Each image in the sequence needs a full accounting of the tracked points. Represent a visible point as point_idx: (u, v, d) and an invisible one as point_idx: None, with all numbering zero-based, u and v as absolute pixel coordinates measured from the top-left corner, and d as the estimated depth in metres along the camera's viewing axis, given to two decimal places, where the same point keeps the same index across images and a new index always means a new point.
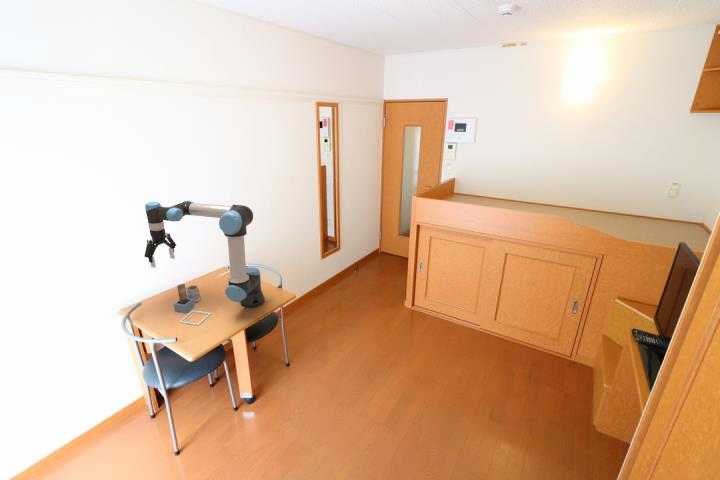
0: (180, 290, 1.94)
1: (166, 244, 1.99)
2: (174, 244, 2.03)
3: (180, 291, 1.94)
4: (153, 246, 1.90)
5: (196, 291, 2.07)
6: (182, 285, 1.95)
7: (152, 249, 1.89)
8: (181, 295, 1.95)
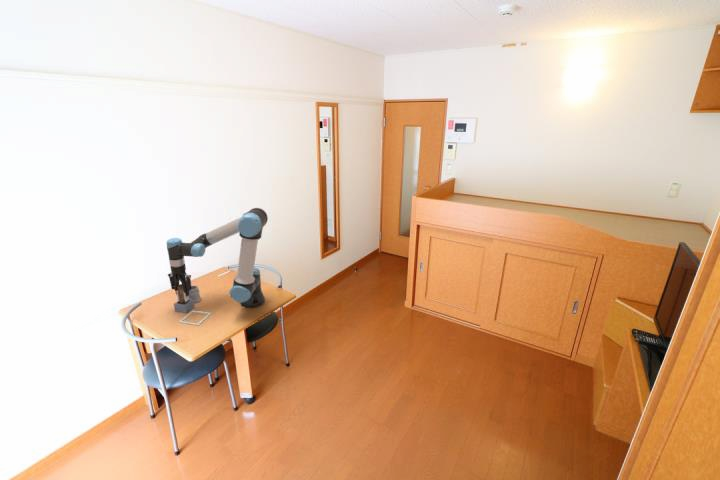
0: (180, 290, 1.94)
1: None
2: (187, 289, 1.93)
3: (180, 291, 1.94)
4: None
5: (196, 291, 2.07)
6: None
7: None
8: (181, 295, 1.95)
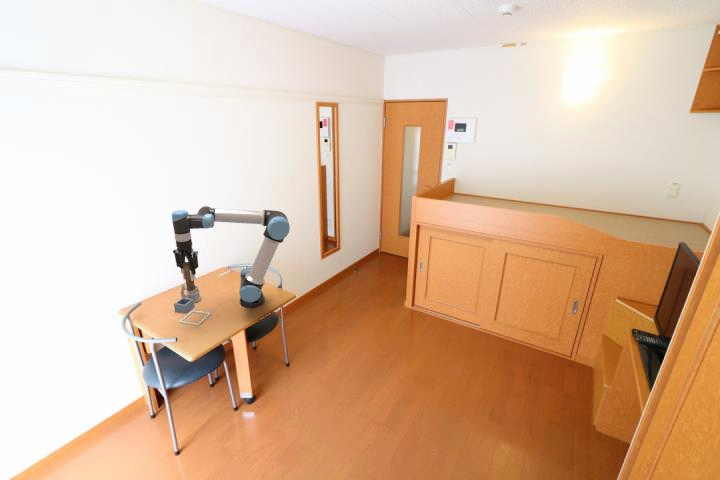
0: (186, 268, 1.79)
1: None
2: (193, 266, 1.78)
3: (186, 269, 1.79)
4: None
5: (196, 291, 2.07)
6: (188, 263, 1.80)
7: None
8: (187, 273, 1.80)
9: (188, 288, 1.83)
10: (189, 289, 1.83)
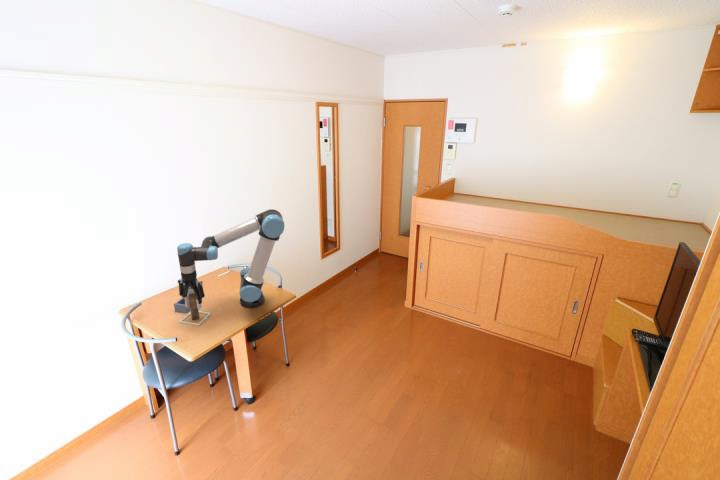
0: (191, 299, 1.86)
1: None
2: (200, 296, 1.85)
3: (191, 300, 1.86)
4: None
5: None
6: (193, 294, 1.87)
7: None
8: (192, 304, 1.87)
9: (193, 318, 1.90)
10: (194, 319, 1.90)
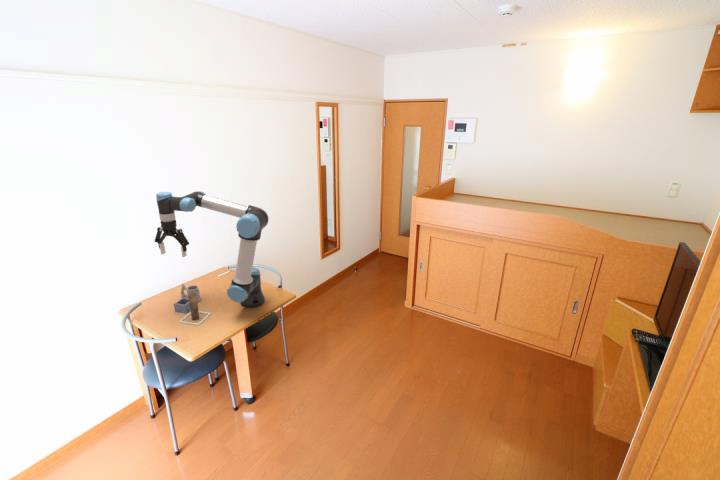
0: (191, 299, 1.86)
1: None
2: (184, 243, 1.87)
3: (191, 300, 1.86)
4: None
5: (196, 291, 2.07)
6: (193, 294, 1.87)
7: None
8: (192, 304, 1.87)
9: (193, 318, 1.90)
10: (194, 319, 1.90)
